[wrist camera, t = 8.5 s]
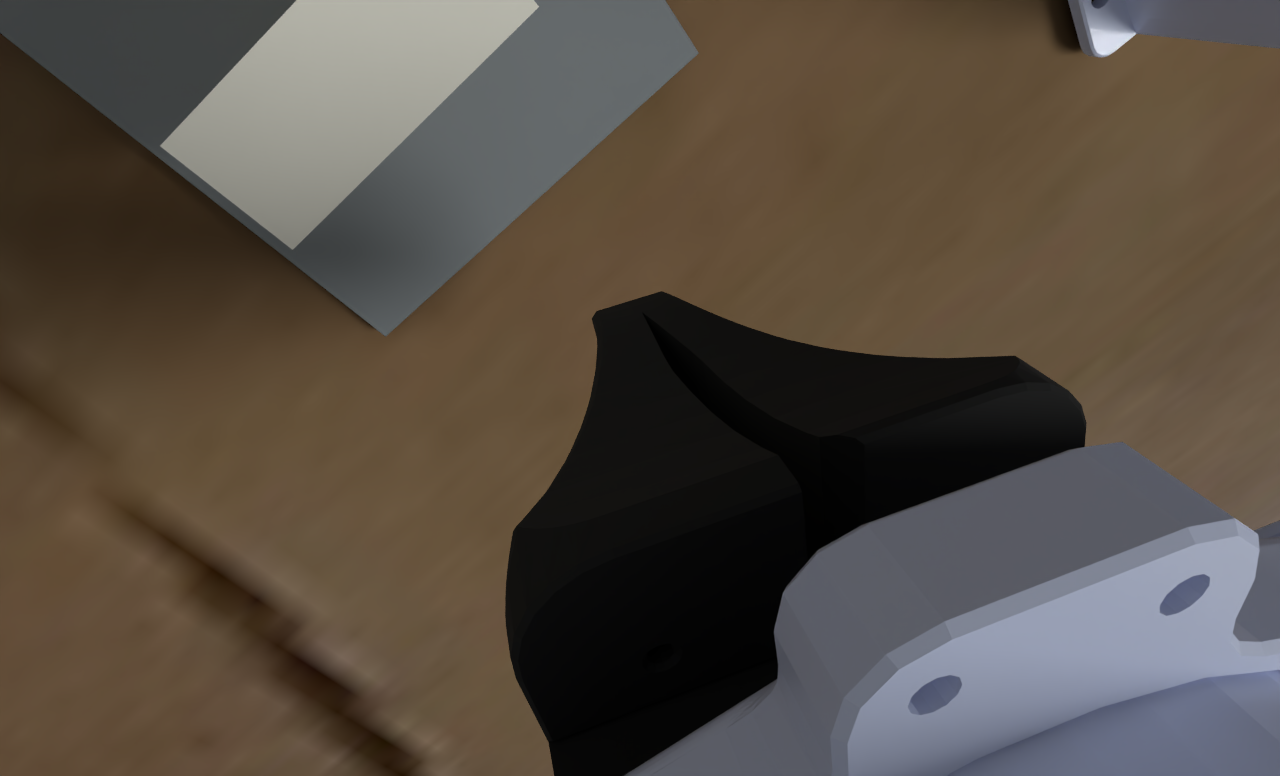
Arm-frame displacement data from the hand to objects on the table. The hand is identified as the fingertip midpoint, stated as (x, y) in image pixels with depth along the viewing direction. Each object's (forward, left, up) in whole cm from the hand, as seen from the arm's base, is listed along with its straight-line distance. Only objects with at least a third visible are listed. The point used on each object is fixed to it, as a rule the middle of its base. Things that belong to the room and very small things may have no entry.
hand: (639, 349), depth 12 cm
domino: (+6, 0, -4) cm, 7 cm away
